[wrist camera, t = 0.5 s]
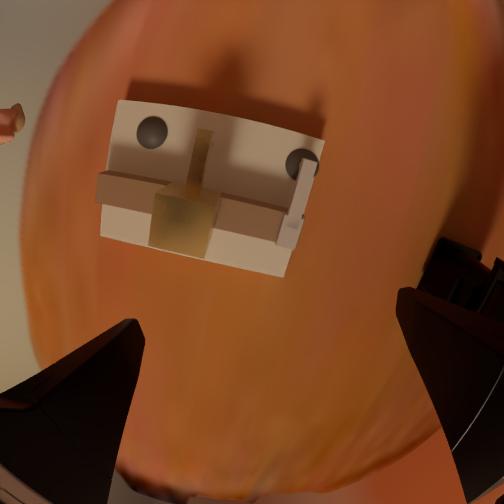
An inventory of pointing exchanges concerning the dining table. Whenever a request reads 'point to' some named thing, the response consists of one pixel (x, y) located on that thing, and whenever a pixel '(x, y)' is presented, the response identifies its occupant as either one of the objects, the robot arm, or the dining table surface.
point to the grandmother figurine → (10, 122)
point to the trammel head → (187, 207)
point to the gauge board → (211, 180)
